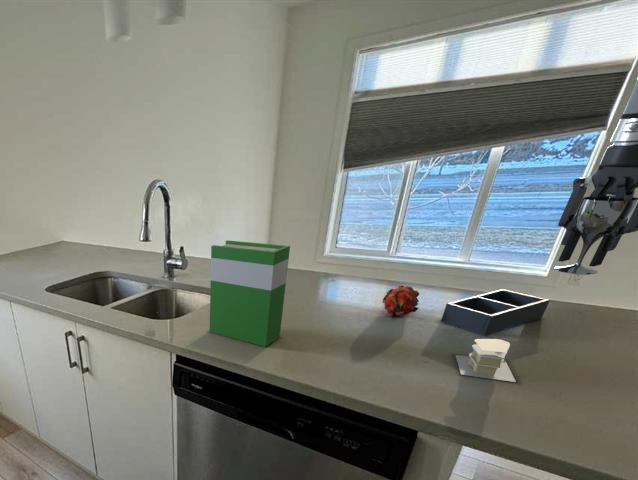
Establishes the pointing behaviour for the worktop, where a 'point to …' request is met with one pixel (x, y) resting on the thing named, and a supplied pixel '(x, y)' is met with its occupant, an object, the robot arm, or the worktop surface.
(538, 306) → the divided tray
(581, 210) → the wine glass
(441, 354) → the worktop surface
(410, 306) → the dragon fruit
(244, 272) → the hardback book
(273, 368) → the worktop surface
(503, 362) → the stacked layers on plate
